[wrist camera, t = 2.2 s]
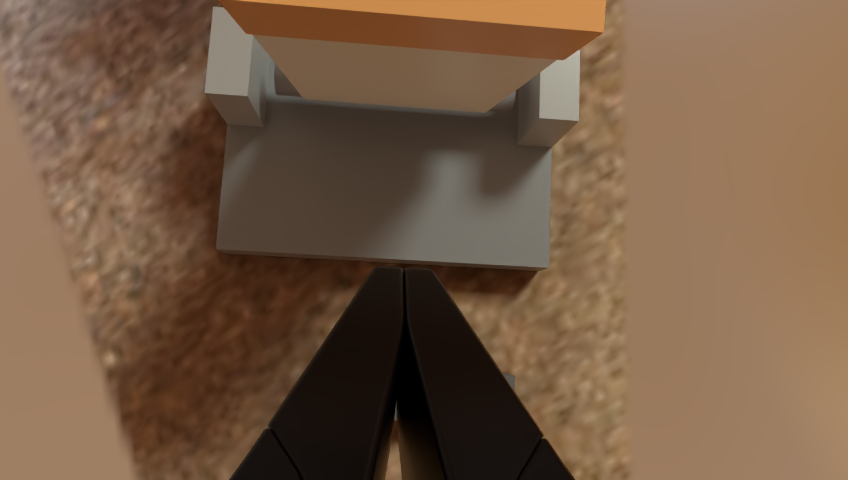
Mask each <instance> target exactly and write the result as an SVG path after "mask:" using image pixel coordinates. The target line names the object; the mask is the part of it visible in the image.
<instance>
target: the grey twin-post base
mask: <svg viewBox="0 0 848 480" xmlns="http://www.w3.org/2000/svg"><path fill="white" fill-rule="evenodd" d="M274 66H275V62H274V61H273V60H272V59H271V57H270V56H269V55H268V54H267V52H266V51H265V50H264V49H263V47H262V46H261V45H260V44H259V42H258V41H257V40H256V39H255V37H254V36H253V35H250V34H246V33H245V32H244V31H243V30H242V29H241V27H240V26H239V25H238V24H237V23H236V21H235V20H234V19H233V18H232V17H231V15H230V14H229V13H228V12H227V11H226V9H225V8H224V7H213V14H212V24H211V34H210V44H209V54H208V64H207V74H206V84H205V94H206V96H207V97H208V98H209V100H210V101H211V103H212V104H213V105H214V107H215V108H216V109H217V111H218V112H219V114H220V115H221V116H222V118H223V119H224V121H225V122H226V123H227V133H226V143H225V154H224V165H223V175H222V186H221V197H220V207H219V218H218V229H217V239H216V250H219V251H221V252H223V253H225V254H241V255H259V256H277V257H295V258H313V259H331V260H349V261H367V262H385V263H403V264H421V265H439V266H457V267H475V268H493V269H511V270H529V271H540V270H543V269H547V268H549V247H550V197H551V147H553V146H554V145H555V144H556V143H557V142H558V141H559V140H560V139H561V138H562V137H563V136H564V135H565V134H566V133H567V132H568V131H569V130H570V129H571V128H572V127H573V126H574V125H575V124H576V123H577V122H578V121H579V73H580V49H579V50H578V51H576V52H575V53H574V54H572V55H571V56H569V57H568V58H566V59H565V60H556V61H555V62H554V63H552V64H551V65H550V66H548V67H547V68H546V69H544V70H543V71H541V72H540V73H539V74H537V75H536V76H535V77H533V78H532V79H531V80H529V81H528V82H527V83H525V84H524V85H522V86H521V87H520V88H518V89H517V90H516V96H515V101H514V106H513V109H512V111H511V112H510V113H508V112H494V111H487V112H486V113H482V112H468V111H455V110H442V109H428V108H415V107H402V106H388V105H375V104H362V103H348V102H335V101H322V100H309V99H303V97H295V96H282V95H277V94H276V92H275V85H274Z"/></svg>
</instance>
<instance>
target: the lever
mask: <svg viewBox="0 0 848 480" xmlns="http://www.w3.org/2000/svg"><path fill="white" fill-rule="evenodd" d="M218 1H219V2H220V3H221V5H222V6H223V7H224V8H225V9H226V11H227V12H228V13H229V14H230V15H231V17H232V18H233V19H234V20H235V21H236V23H237V24H238V25H239V26H240V27H241V29H242V30H243V31H244V32H245V33H246V34H250V35H253V36H254V37H255V39H256V40H257V41H258V42H259V44H260V45H261V46H262V47H263V49H264V50H265V51H266V52H267V54H268V55H269V56H270V57H271V59H272V60H273V61H274V62H275V66H274V85H275V92H276V94H277V95H282V96H295V97H303V99H309V100H322V101H335V102H348V103H362V104H375V105H388V106H402V107H415V108H428V109H442V110H455V111H468V112H482V113H486V112H487V111H494V112H508V113H510V112H511V111H512V109H513V106H514V101H515V96H516V90H517V89H518V88H520V87H521V86H522V85H524V84H525V83H527V82H528V81H529V80H531V79H532V78H533V77H535V76H536V75H537V74H539V73H540V72H541V71H543V70H544V69H546V68H547V67H548V66H550V65H551V64H552V63H554V62H555V61H556V60H565V59H566V58H568V57H569V56H571V55H572V54H574V53H575V52H576V51H578V50H579V49H581V48H582V47H583V46H585V45H586V44H588V43H589V42H590V41H592V40H593V39H595V38H596V37H598V36H599V35H600V34H602V33H603V32H604V20H605V8H606V0H218Z"/></svg>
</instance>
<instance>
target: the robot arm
mask: <svg viewBox="0 0 848 480" xmlns="http://www.w3.org/2000/svg"><path fill="white" fill-rule="evenodd" d="M395 410H396V416H397V431H398V442H399V452H400V462H401V473H402V480H575V479H574V477H573V476H572V475H571V473H570V472H569V470H568V469H567V468H566V466H565V465H564V464H563V462H562V461H561V459H560V458H559V456H558V455H557V453H556V452H555V450H554V449H553V447H552V446H551V444H550V443H549V441H548V440H547V439H545V438H544V439H543V436H544V435H543V433H542V431H541V430H540V428H539V427H538V425H537V424H536V422H535V421H534V419H533V418H532V416H531V415H530V413H529V412H528V410H527V409H526V407H525V406H524V405H523V403H522V402H521V400H520V399H519V397H518V396H517V394H516V393H515V391H514V390H513V388H512V387H511V385H510V384H509V382H508V381H507V379H506V378H505V376H504V375H503V373H502V372H501V370H500V369H499V367H498V366H497V364H496V363H495V362H494V360H493V359H492V357H491V356H490V354H489V353H488V351H487V350H486V348H485V347H484V345H483V344H482V342H481V341H480V339H479V338H478V336H477V335H476V333H475V332H474V330H473V329H472V327H471V326H470V324H469V323H468V321H467V320H466V319H465V317H464V316H463V314H462V313H461V311H460V310H459V308H458V307H457V305H456V304H455V302H454V301H453V299H452V298H451V296H450V295H449V293H448V292H447V290H446V289H445V287H444V286H443V284H442V283H441V281H440V280H439V278H438V277H437V276H436V274H435V273H434V271H433V270H431V269H428V268H411V267H408V268H406V269H405V270H404V273H403V270H402V268H400V267H393V266H376V267H375V268H374V269H373V270H372V271H371V273H370V274H369V276H368V277H367V279H366V280H365V282H364V283H363V285H362V286H361V287H360V289H359V290H358V292H357V293H356V295H355V296H354V298H353V299H352V301H351V302H350V304H349V305H348V307H347V308H346V310H345V311H344V313H343V314H342V316H341V317H340V319H339V320H338V322H337V323H336V325H335V326H334V328H333V329H332V330H331V332H330V333H329V335H328V336H327V338H326V339H325V341H324V342H323V344H322V345H321V347H320V348H319V350H318V351H317V353H316V354H315V356H314V357H313V359H312V360H311V362H310V363H309V365H308V366H307V368H306V369H305V371H304V372H303V373H302V375H301V376H300V378H299V379H298V381H297V382H296V384H295V385H294V387H293V388H292V390H291V391H290V393H289V394H288V396H287V397H286V399H285V400H284V402H283V403H282V405H281V406H280V408H279V409H278V411H277V412H276V413H275V415H274V416H273V418H272V419H271V421H270V422H269V424H268V429H265V430H264V431H263V432H262V434H261V435H260V437H259V438H258V440H257V441H256V443H255V444H254V446H253V447H252V449H251V450H250V452H249V453H248V454H247V456H246V457H245V458H244V460H243V461H242V463H241V464H240V465H239V467H238V468H237V469H236V471H235V472H234V474H233V475H232V476H231V478H230V479H229V480H385V476H386V470H387V464H388V457H389V451H390V445H391V439H392V433H393V426H394V418H395Z"/></svg>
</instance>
